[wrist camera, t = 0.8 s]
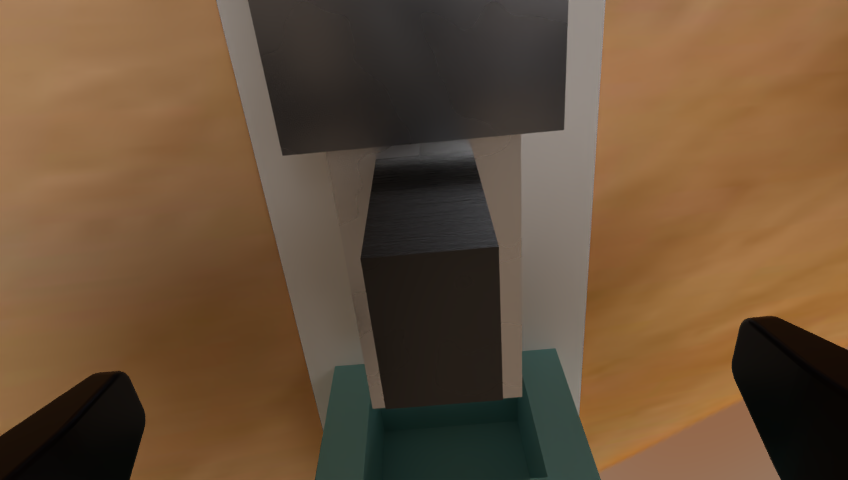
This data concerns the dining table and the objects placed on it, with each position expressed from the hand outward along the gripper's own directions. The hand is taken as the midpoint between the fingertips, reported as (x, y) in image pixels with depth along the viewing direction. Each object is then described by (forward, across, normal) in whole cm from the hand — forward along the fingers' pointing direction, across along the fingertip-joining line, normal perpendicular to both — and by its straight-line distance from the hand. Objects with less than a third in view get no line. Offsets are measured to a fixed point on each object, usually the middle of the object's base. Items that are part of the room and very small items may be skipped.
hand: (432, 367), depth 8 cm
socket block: (+9, 0, +10) cm, 14 cm away
